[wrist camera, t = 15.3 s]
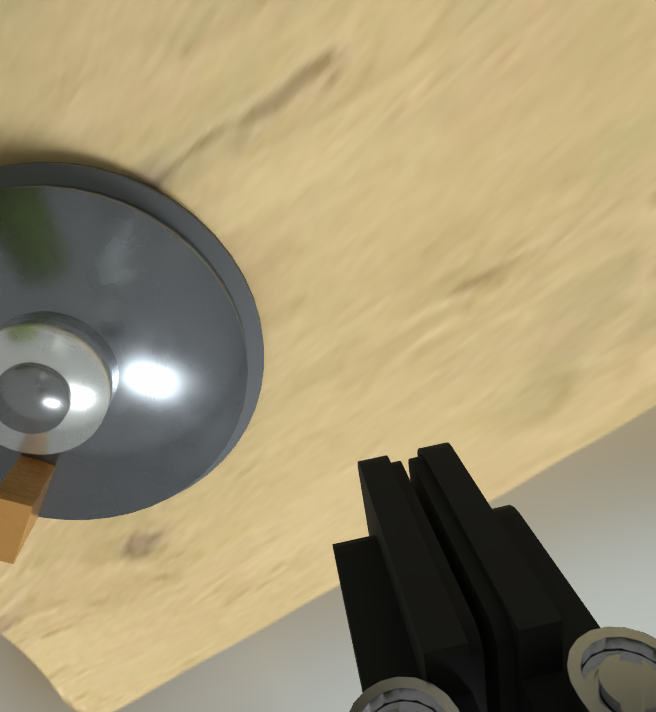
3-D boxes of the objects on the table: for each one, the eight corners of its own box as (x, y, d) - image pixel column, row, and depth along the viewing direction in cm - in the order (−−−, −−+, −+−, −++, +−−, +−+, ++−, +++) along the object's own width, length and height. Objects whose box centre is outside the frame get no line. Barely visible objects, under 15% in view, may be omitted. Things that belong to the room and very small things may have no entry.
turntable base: (-206, 202, 29) (-226, 206, 28) (218, 129, 30) (217, 129, 29) (-32, 536, 38) (-40, 549, 36) (292, 466, 39) (293, 477, 38)
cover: (0, 291, 29) (-33, 314, 26) (134, 337, 31) (121, 364, 28) (-29, 405, 31) (-63, 439, 28) (98, 441, 33) (81, 478, 30)
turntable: (-79, 114, 27) (-154, 112, 22) (299, 273, 33) (310, 300, 28) (-149, 451, 33) (-220, 510, 28) (182, 538, 38) (172, 600, 33)
